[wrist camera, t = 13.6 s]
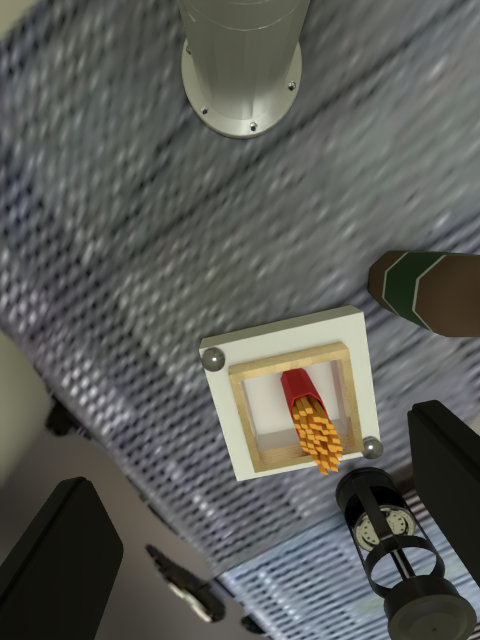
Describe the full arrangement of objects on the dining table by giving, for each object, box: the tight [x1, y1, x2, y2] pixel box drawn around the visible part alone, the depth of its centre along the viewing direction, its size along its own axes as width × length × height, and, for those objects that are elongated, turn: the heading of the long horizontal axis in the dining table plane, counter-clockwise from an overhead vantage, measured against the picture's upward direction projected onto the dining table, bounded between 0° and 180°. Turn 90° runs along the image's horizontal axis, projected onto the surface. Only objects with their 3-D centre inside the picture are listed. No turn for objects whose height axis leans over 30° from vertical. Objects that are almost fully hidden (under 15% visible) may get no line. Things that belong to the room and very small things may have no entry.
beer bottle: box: [368, 251, 480, 337], centre depth 27 cm, size 8×8×24 cm
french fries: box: [280, 367, 343, 475], centre depth 36 cm, size 8×4×12 cm, turn 20°
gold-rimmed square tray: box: [199, 305, 383, 481], centre depth 39 cm, size 20×20×6 cm
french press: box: [336, 468, 477, 640], centre depth 36 cm, size 12×9×23 cm
